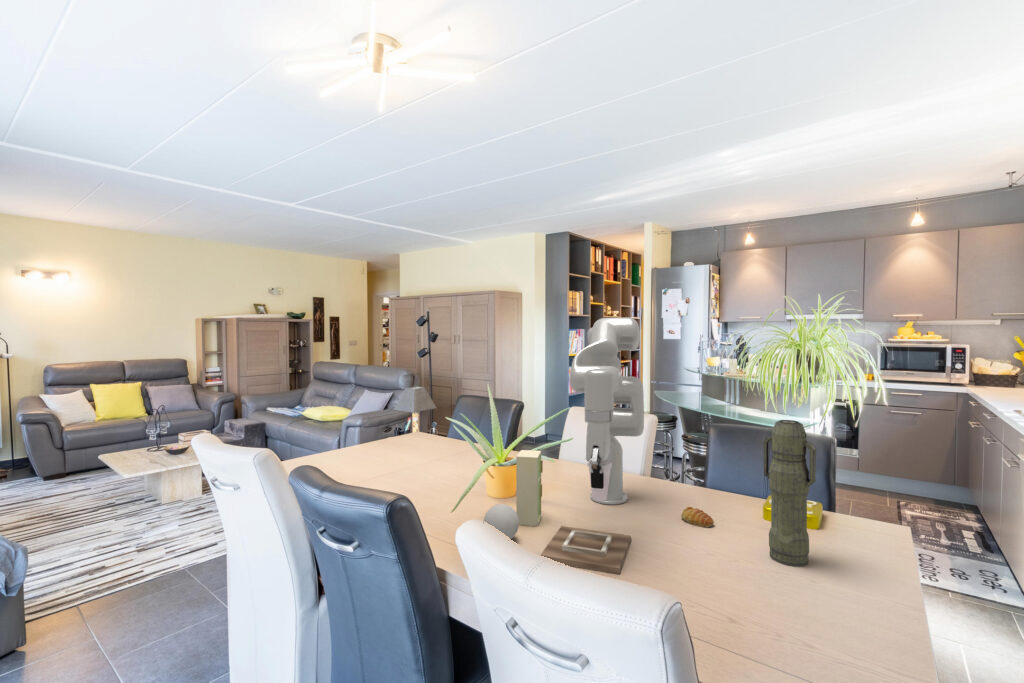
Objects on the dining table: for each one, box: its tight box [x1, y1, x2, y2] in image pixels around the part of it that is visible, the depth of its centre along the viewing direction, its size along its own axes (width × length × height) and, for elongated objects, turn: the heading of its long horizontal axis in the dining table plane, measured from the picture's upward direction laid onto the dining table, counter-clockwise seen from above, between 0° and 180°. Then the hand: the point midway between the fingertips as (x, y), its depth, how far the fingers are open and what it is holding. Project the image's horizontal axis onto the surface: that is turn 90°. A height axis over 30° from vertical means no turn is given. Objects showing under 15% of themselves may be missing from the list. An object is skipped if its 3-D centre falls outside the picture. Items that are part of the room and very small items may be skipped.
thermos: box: [763, 419, 817, 567], centre depth 125 cm, size 9×12×35 cm
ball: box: [483, 503, 520, 540], centre depth 138 cm, size 10×10×10 cm
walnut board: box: [540, 525, 632, 575], centre depth 131 cm, size 20×20×3 cm
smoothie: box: [586, 459, 612, 501], centre depth 130 cm, size 6×6×14 cm
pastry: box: [681, 506, 715, 529], centre depth 150 cm, size 9×7×4 cm
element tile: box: [762, 494, 824, 531], centre depth 153 cm, size 15×15×5 cm
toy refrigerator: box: [515, 449, 544, 527], centre depth 152 cm, size 8×7×21 cm
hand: (599, 483), depth 130 cm, fingers closed on smoothie, 6 cm apart
